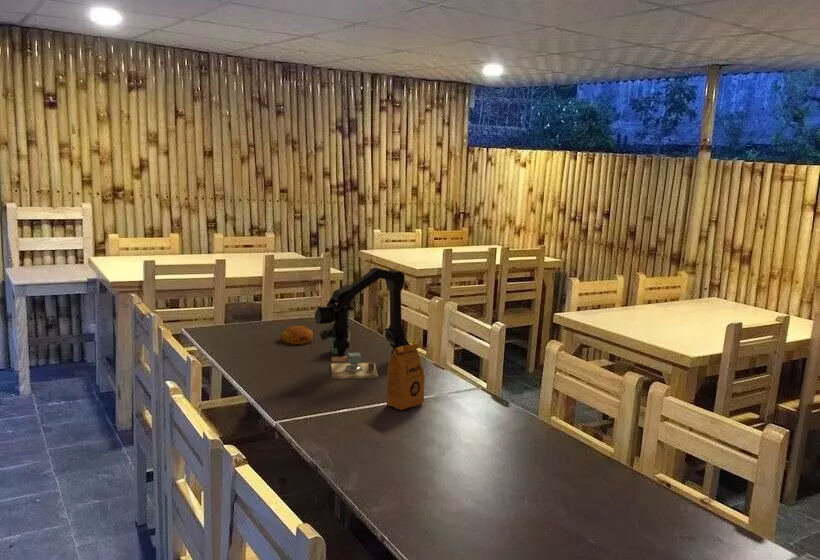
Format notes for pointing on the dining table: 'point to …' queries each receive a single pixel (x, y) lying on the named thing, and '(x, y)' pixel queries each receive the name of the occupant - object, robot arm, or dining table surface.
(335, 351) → the flower pot
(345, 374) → the board
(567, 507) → the dining table surface
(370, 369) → the block
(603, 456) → the dining table surface
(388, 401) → the coffee package
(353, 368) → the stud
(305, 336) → the croissant
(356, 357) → the cap
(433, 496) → the dining table surface
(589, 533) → the dining table surface
